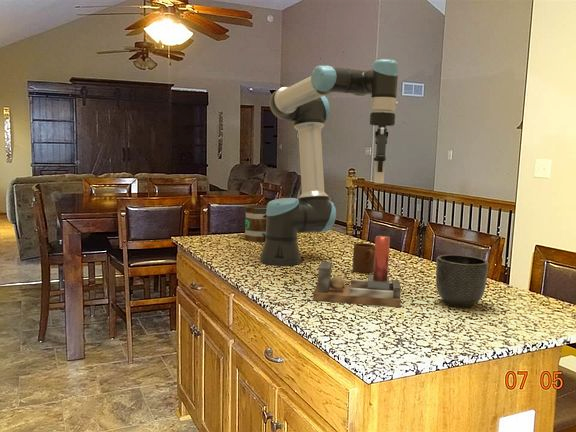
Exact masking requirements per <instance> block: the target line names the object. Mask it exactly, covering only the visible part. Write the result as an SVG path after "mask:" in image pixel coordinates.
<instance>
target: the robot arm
mask: <svg viewBox="0 0 576 432" xmlns="http://www.w3.org/2000/svg"><path fill="white" fill-rule="evenodd" d="M398 78H399V64H398V61H396V60H395V59H387V58H386V59H377V60H374V61H373V64H372V68H371V69H365V70H364V69H357V68H349V67H348V68H345V67H337V66H331V65H316V66H315V67H314V70H313V71H312V73H311V75H310V76H309V77H307V78H305V79H302V80H300V81H298V82H297V83H294V84H293V85H290V86H283V87H280V88H277V89H276V90H274V92H273V93H271V96H270V98H269V107H270V111H271V112H272V114H273V115H274V116H275V117H276V118H277V119H280V120H283V121H286V122H293V126H294V129H295V130H296V132H297V131H298V146H299V163H300V181H301V194H300V195H299V196H298V198H296V197H282V198H276V199H273V200H270V201H268V203H267V204H266V206H267V211H266V241H265V242H264V243H263V247H262V251H261V253H260V255H259V257H260V259H259V261H260V262H261V263H263V264H266V265H272V266H296V265H298V264H301V262H302V256H301V254H300V248H299V245H298V234H304V233H305V234H306V233H307V234H308V233H323V232H327V231H328V232H329V231H330V230H331V228H333V225H334V224H335V222H336V219H337V210H336V206H335V203H334V202H333V201H331V200H330V196H329V195H328V194H327V193H326V192H325V179H324V164H323V163H324V162H323V146H322V132H321V131H322V129H323V128H324V127H325V123H326V122H328V120H329V118H330V116H329V115H330V111H331V109H330V103H329V100H328V97H327V95H329V94H332V93H342V94H352V95H353V96H358V97H359V96H361V97H363V96H367V95H371V97H370V111H371V112H370V116H369V124H370V125H371V126H376V127H377V130H375V131H374V138H375V145H376V147H375V148H376V150H375V156H374V157H373V162H375V163H374V174H373V175H374V178H373V180H374V182H373V183H374V184H383V185H384V183H385V169H386V168H385V167H386V161H387V157H386V146H387V144H388V138H389V131H388V128H387V127H393V126H395V125H396V113H394V112H396V107H397V106H396V105H398V104H399V102H398V101H397V93H398Z"/></svg>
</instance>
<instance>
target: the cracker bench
mask: <svg viewBox="0 0 576 432" xmlns="http://www.w3.org/2000/svg"><path fill="white" fill-rule="evenodd" d="M317 271H318V274H317V275H318V276H317V284H316V286H315V289H314V291H313V293H312V297H313V298H312V301H318V302H328V303H329V302H331V303H340V304H341V303H343V304H353V305H354V304H355V305H366V306H367V305H369V306H379V307H380V306H381V307H392V308H395V307H396V308H400V307H401V293H402V292H401V291H402V286H401V281H400V280H399V279H392V280H391V281H389V282H390V284H389V291H388V290H375V289H367V283H368V279H367V280H365V279H353V278H350V285H349V284H344V285H343V287H342V288H341V289H333V288H332V287H331V285H330V280H331V279H332V261H321V262H320V264H319V266H318V270H317Z"/></svg>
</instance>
